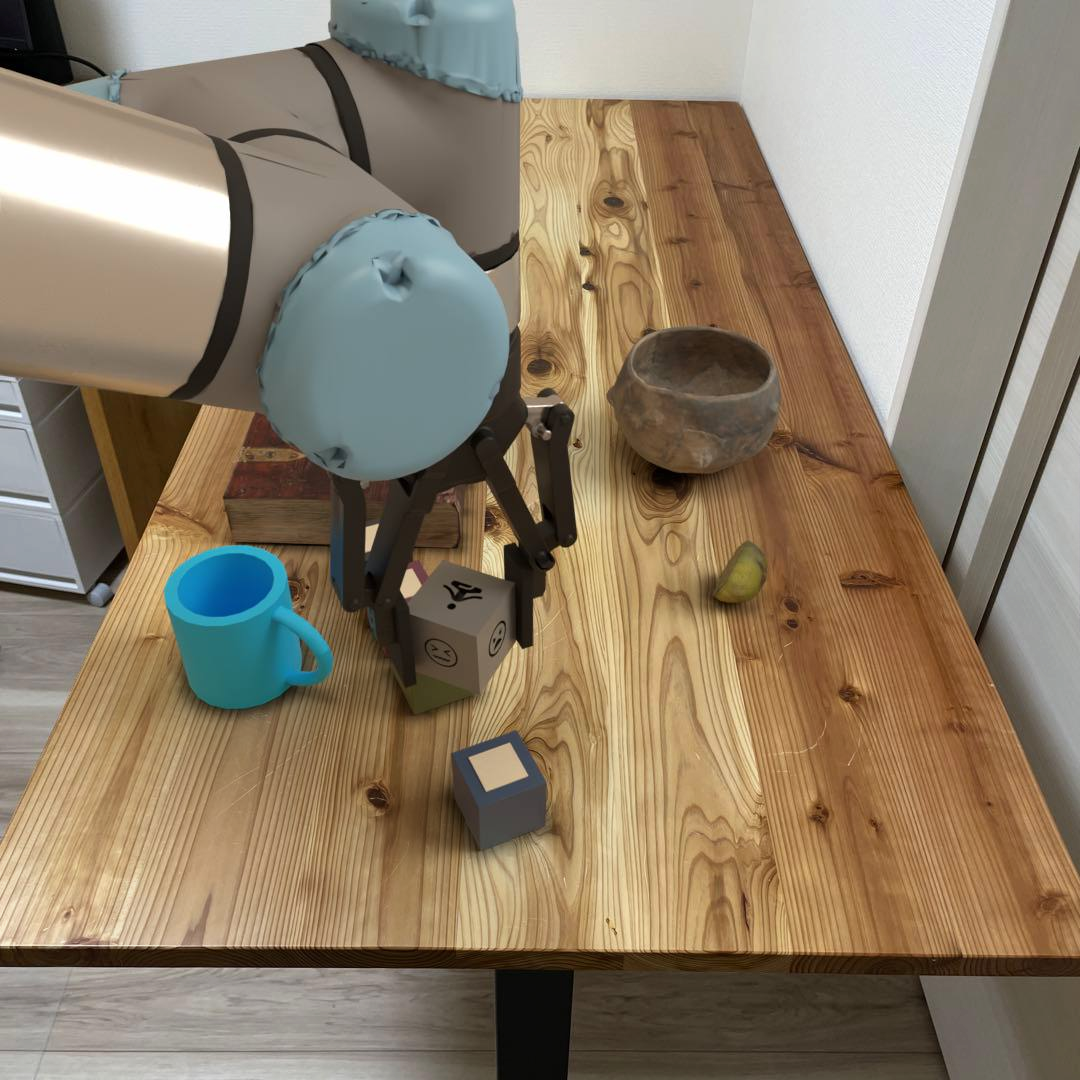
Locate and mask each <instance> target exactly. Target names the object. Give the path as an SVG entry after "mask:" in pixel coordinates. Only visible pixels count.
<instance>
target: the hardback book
mask: <svg viewBox="0 0 1080 1080" xmlns="http://www.w3.org/2000/svg"><path fill="white" fill-rule="evenodd" d="M466 485H467V484H463V485H457V486H455V487H453V488H452V489H450V490H448V491H446V492H442V493H438V494H437V496H436V499H435V502H434V505H433V508H432V511H431V513H430V514H426V515H425V516H424V519H423V522H422V525H421V528H420V531H419V534H418V537H417V540H416V543H415V546H414V548H441V549H458V547H459V544H460V540H461V536H462V525H463V515H464V506H465V496H466ZM389 490H390V484H389V480H382V481H370V485H369V487H367V488H365V489H363V492H364V495H365V500H366V521H369V520H373V519H376V518H380V517H381V516H382V512H383V509H384V506H385V503H386V500H387V496H388V493H389ZM222 500H223V505H224V508H225V513H226V517H227V521H228V526H229V529H230V535H231V538H232V542H237V543H238V542H242V543H270V544H271V543H275V544H276V543H277V544H308V545H310V544H311V545H330V478H329V476H328V474H327V472H326V469H324V468H322V467H320V466H319V465H317V464H315V463H314V462H312V461H310V460H309V459H308V458H307V457H306V455H305V454H304V453H303V452H302V451H301V450H300V449H299V448H297V447H294V446H292V445H289V444H288V443H286V442H285V441H283V440H282V439H281V438H280V437H279V436H278V435H277V434H276V433H275V431H274V430H273V428H272V426H271V423H270V421H269V420H267V418H266V415H263V414H260V413H257V412H254V413H253V416H252V419H251V421H250V425H249V427H248V430H247V432H246V434H245V438H244V440H243V443H242V445H241V448H240V450H239V453H238V455H237V458H236V461H235V464H234V467H233V469H232V472H231V474H230V476H229V479H228V483H227V485H226V487H225V490H224V493H223V495H222Z"/></svg>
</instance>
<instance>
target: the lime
mask: <svg viewBox="0 0 1080 1080" xmlns="http://www.w3.org/2000/svg"><path fill="white" fill-rule="evenodd" d="M767 573H768V562H767V559H766V555H765V553H764V552H763V550H762V549H761V548H760V547H759V546H758V545H756V544H755V543H754V542H752V541H750V540H745V541H743V542H742V543H741V544H740V545H738V547H737V548H736V549H735V551H734V552H733V554H732V556H731V557H730V559H729V560H728V561H727V563H726V565H725V568H723V570H722V573H721V575H720V577H719V579H718V581H717V582H716V586H715V589H714V591H713V597H714V598H715V599H716V600H718V601H720V602H722V603H723V602H724V603H727V604H728V603H729V604H739V603H745V602H748V601H750V600H752V599H754V598H755V597H757V595H759V593H760V591H761V590H762V589H763V587H764V585H765V583H766V581H767Z"/></svg>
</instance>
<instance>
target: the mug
mask: <svg viewBox="0 0 1080 1080" xmlns="http://www.w3.org/2000/svg"><path fill="white" fill-rule="evenodd" d="M163 596H164V602H165V606H166V610H167V613H168V617H169V621H170V624H171V627H172V631H173V634H174V637H175V641H176V644H177V647H178V651H179V654H180V658H181V661H182V664H183V669H184V672H185V675H186V678H187V681H188V686H189V688H190V689H191V690H192V692H193V693H194V694H195V696H196V697H197V698H198V699H199V700H201V701H203V702H204V703H206V704H208V705H209V706H213V707H216V708H220V709H224V710H246V709H250V708H254V707H257V706H258V707H259V706H261V705H265V704H267V703H269V702H271V701H273V700H274V699H276V698H278V697H281V695H283V693H285V692H286V691H287V690H288V689H290V688H291V687H292V686H298V687H311V686H315V685H318V684H321V683H323V682H324V681H325V680H327V678H328V677H329V676H330V675H331V673H332V672H333V669H334V668H333V665H334V656H333V653H332V651H331V647H330V646H329V644H328V643H327V641H326V640H325V639H324V637H323V636H322V635H321V633H320V632H319V631H318V630H317V629H316V628H315V627H314V626H313V625H312V624H311V623H310V622H309V621H307V620H306V619H305V618H303V617H302V616H300V615H299V614H297V613H296V612H295V611H294V606H293V600H292V595H291V590H290V584H289V580H288V574H287V571H286V568H285V565H284V563H283V562H282V561H281V560H280V559H279V558H278V557H277V555H275V554H273V553H271V552H269V551H268V550H265V549H264V548H262V547H261V548H260V547H257V546H256V547H255V546H251V545H247V544H244V545H242V544H241V545H239V544H238V545H234V544H233V545H223V546H219V547H215V548H209V549H208V550H204V551H202V552H200V553H197V554H195V555H193V556H191V557H190V558H188V559H187V560H185V561H183V562H182V563H181V564H179V565H178V566H177V567H176V568H175V569H174V571H173V572H172V573H171V574H170V576H169V577H168V578H167V580H166V584H165V586H164V589H163ZM300 639H301V641H302V642H304V643H305V644H306V646H307V647H308V648H309V649H310V651H311V653H312V654H313V655H314V658H315V660H316V663H317V668H316V670H312V671H303V670H302V665H303V659H304V657H303V653H302V648H301V643H300Z"/></svg>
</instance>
